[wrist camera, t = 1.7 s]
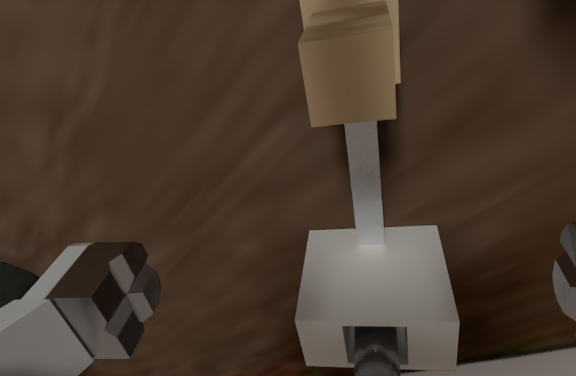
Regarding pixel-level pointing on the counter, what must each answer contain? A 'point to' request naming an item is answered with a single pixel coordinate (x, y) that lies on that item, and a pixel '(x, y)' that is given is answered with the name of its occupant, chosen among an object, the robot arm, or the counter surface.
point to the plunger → (376, 351)
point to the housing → (377, 297)
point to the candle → (14, 283)
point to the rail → (365, 181)
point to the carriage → (350, 60)
